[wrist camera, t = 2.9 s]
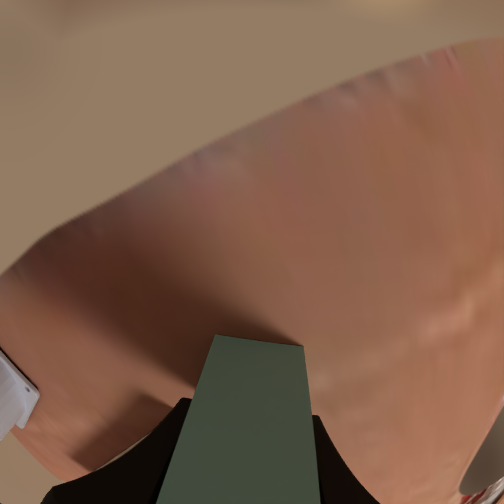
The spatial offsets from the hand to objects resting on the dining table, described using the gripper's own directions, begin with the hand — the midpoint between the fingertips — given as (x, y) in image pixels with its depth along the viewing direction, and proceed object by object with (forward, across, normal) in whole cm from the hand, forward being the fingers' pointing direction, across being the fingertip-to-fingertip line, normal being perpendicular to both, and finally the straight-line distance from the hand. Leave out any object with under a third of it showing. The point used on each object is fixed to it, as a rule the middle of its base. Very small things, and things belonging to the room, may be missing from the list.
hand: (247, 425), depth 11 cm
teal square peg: (+3, 0, 0) cm, 3 cm away
